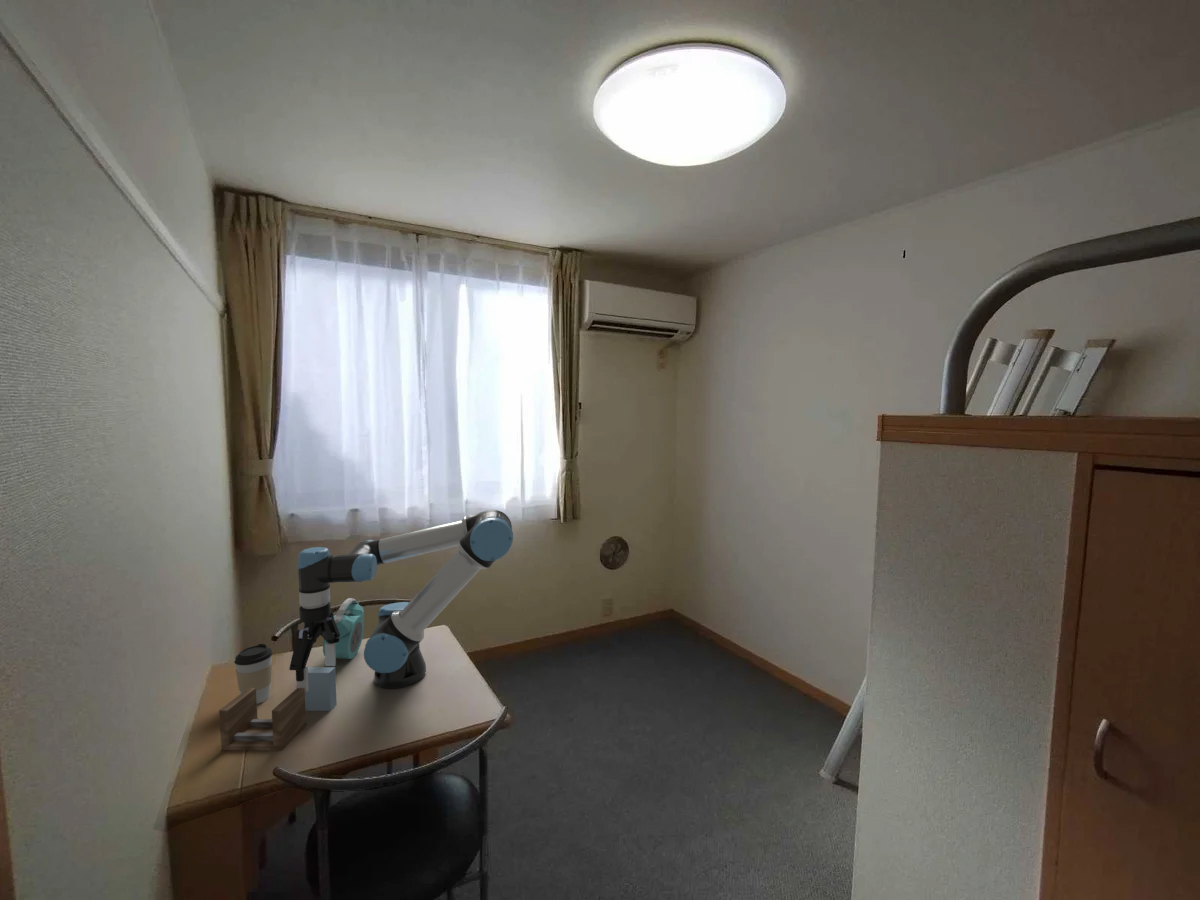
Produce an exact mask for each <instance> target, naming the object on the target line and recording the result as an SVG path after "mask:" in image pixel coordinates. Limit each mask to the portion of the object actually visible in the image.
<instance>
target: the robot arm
mask: <svg viewBox="0 0 1200 900" xmlns="http://www.w3.org/2000/svg"><path fill="white" fill-rule="evenodd" d="M512 526H513V525H512V521H511V519H510V518H509V516H508V515H507V514H506V513H504V512H503V511H501V510H499V509H488V510H484V511H481V512H477V513H473V514H470V515H465V516H464V517H463V518H462V519H461V520H458V521H454V522H450V523H445V524H441V525H440V524H439V525H436V526H432V527H428V528H427V527H426V528H423V529H419V530H415V531H411V532H410V531H409V532H407V533H406V532H405V533H402V534H397V535H393V536H389V537H385V538H380V539H376V540H374V539H367V540H363V541H361V542H359V543H357V545H356V546H355V547H354V548H353V549H352V550H351V551H350V552H349V553H347V554H337V555H336V554H331V553H330V549H328V547H321V546H316V547H309V548H306V549H303V550H301V551H300V552H299V553H298V557H297V558H298V559H297V575H298V576H297V577H298V578H297V579H298V596H299V598H298V599H299V602H298V603H299V606H300V607H299V609H298V611H299V621H301V622H302V623H304V627H303V629H297V630H296V633H295V638H296V639H295V643H294V646H293V650H292V651H293V652H292V655H291V661H290V663H289V668H288V670H289V671H295V680H296V684H295V685H296V689H297V688H305V692H307V691H308V667H309V666H307V664H308V660H309V658H310V654H311V651H312V648H313V646H314V644H315V643H316V642H317V639H318V638H319V637H322V638H323V640H324V639H325V641H326V642H328V643H326V644H325V656H324V659H325V662H324V663H325V666H324V667H335V666H337V658H336V649H335V643H338V642H339V637H340V633H339V630H338V628H337V625H336V623H335V620H334V612H333V611H331V602H330V601H331V584H333V583H354V582H355V583H361V582H366V581H367V582H370V581H372V580H373V579H374V578H375V577H376V574H377V567H378V566H380V565H383V564H388V563H391V562H397V561H400V560H405V559H408V558H412V557H413V558H414V557H418V556H421V555H426V554H429V553H432V552H439V551H442V550H447V549H450V548H454V547H458V550H457V551H456V552H455V553H454V554H453V555H452V556H451V557H450V558H449V559H448V561H446V563H445V564H444V565H443V566H442V567H441V568H440V569H439V570H438V572H436V573H435V574H434V576H433V577H432V578H430V580H429V581H428V582H427V583H426V584H425V585H424V586H423V587H422V588H421V590H420V591H418V593H417V594H416V595H414V597H413V598H411V600H410V601H402V602H401V601H399V602H394V603H393V602H392V603H388V604H385V605H383V606H381V607H380V608H378V609H379V610H378V614H377V617H378V624H377V625H376V627H375V628H374V630H373V632H372V634H371V635H370V638H369V639H368V640H367V641H366V643H365V646H364V649H363V650H364V651H363V658H364V662H365V664H366V665H367V666H368V668H370V669H371V670H372V671H374V676H373V677H374V684H375V685H376V686H378V687H380V688H383V689H400V688H405V687H408V686H411V685H413V684H416V683H417V682H419V681H420V680H422V679H423V678H424V677H425V675H426V674H425V672H426V673H427V665H426V661H425V659H424V656H423V654H422V651H421V649H420V643H421V642H422V640H424V638H425V630H426V629H427V628H428V627H429V626H430V625H431V624H432V622H433V621H434V620H435V619H436V618H437V617H438V615H440V614H441V613H442V611H443V610H444V609H446V607H447V606H448V605H449V604H450V603H451V602H452V601H453V600H454V599H455V598H456V597H457V595H458V594H459V593H460V592H461V591H462V590H463V589H464V588H465V586H466V585H467V584H468V583H470V582H471V580H472V579H473V578H474V577H475V576H476V575H477V573H478V572H479V571H481V570H482V569H483V570H485V569H487V570H488V569H490V568H491V566H492V565H493V564H494V563H495V562H496V561H497V560H499V559H501V558H503V557H504V556H505V555H506V554H507V553H508V552H509V551H510V549H511V547H512V544H513V540H514V531H513V527H512ZM424 674H425V675H424ZM423 676H424V677H423ZM422 677H423V678H422ZM421 678H422V679H421ZM419 679H420V680H419ZM418 680H419V681H418ZM416 681H417V682H416ZM415 682H416V683H415Z"/></svg>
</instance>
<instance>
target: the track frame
mask: <svg viewBox="0 0 1200 900" xmlns="http://www.w3.org/2000/svg"><path fill="white" fill-rule="evenodd" d="M218 711H219V712H218V714H219V715H218V716H219V731H220V747H221V751H283V749H284V748H286V747H287V746H288V745H289V743H290V742H292V740H293V739H294V738H295V737H296V736H297V735H298V734H299V733H300V732H301V731H302V730H303V729H304V728H305V727H306V726H307V716H306V714H307V713H306V712H307V711H306V710H305V688H297V687H296V689H294V690H293V691H292V692H291V693H290V694H288V696H286V697H285V698H284V699H283V700H282V701H281V702H280V703H279V704H277V705H276V706H275V707H274V708H273V709H272V710H271V718H266V719H265V718H259V719H258V704H257V700H256V688H248V689H246V690H245V691H244V692H243V693H241V694H240V693H239V695H237V696H236V697H235V698H233V699H232V700H231V701H229V702H228V703H227V704H226V705H224V706H223V707H222V708H220V709H219V710H218Z"/></svg>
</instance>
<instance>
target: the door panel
mask: <svg viewBox="0 0 1200 900" xmlns="http://www.w3.org/2000/svg"><path fill="white" fill-rule="evenodd" d="M307 667H308V691H307V692H305V710H306V712H307V711H309V712H311V711H313V712H314V711H315V712H317V711H321V712H323V711H324V712H325V711H326V712H329V711H332V710H333V709H334V708H335V707H336V706H337V704H338V703H337V681H336V667H335V666H324V667H323V666H320V667H319V666H307Z"/></svg>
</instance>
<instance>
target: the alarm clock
mask: <svg viewBox="0 0 1200 900" xmlns="http://www.w3.org/2000/svg"><path fill="white" fill-rule="evenodd" d="M333 616H334V620H335V623H336V625H337V628H338V630H339V633H340V637H339V642H338V643H335V649H336V659H348V660H353V659H354V657H355V656H357V653H358V652H359V649H360V647H361V646H362V645H361V644H362V641H363V637H364V633H365V631H364V630H365V619H364V616H365V611H364V607H363V605H360V604H359V601H357V600H356V599H355V598H352V597H348V598H347V599H345V600H344V601H343V602H342V604H341V605H340V607H339V608H338V609H337V612H336V614H335V615H334V614H333ZM326 643H328V642H326V641H325V639H324V638H323V642H322V653H323V656H324V657H325V644H326Z"/></svg>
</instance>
